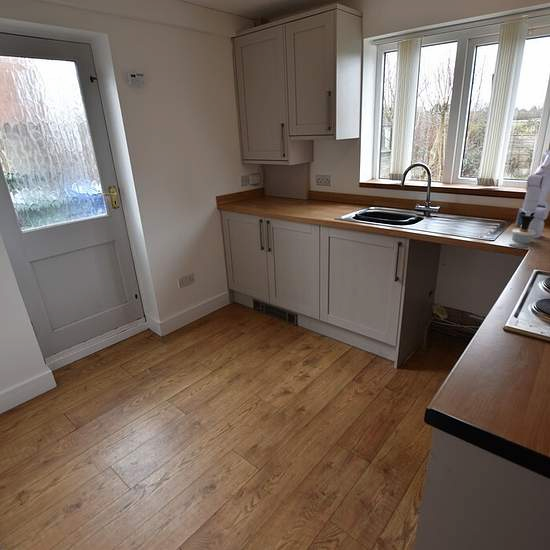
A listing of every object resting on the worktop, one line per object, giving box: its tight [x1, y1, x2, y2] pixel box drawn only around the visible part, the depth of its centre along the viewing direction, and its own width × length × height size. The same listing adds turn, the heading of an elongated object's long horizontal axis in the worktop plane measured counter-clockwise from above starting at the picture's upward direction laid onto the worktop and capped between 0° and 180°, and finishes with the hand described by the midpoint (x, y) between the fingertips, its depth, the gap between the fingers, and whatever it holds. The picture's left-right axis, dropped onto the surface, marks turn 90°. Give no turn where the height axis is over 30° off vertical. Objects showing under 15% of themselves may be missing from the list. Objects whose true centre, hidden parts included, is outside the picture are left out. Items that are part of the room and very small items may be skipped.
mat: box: [508, 243, 529, 250], centre depth 178 cm, size 8×8×1 cm
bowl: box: [511, 232, 533, 244], centre depth 185 cm, size 8×8×4 cm
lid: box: [511, 225, 536, 235], centre depth 184 cm, size 10×10×4 cm
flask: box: [514, 210, 522, 228], centre depth 209 cm, size 9×3×11 cm, turn 48°
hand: (524, 227), depth 184 cm, fingers open, 7 cm apart
